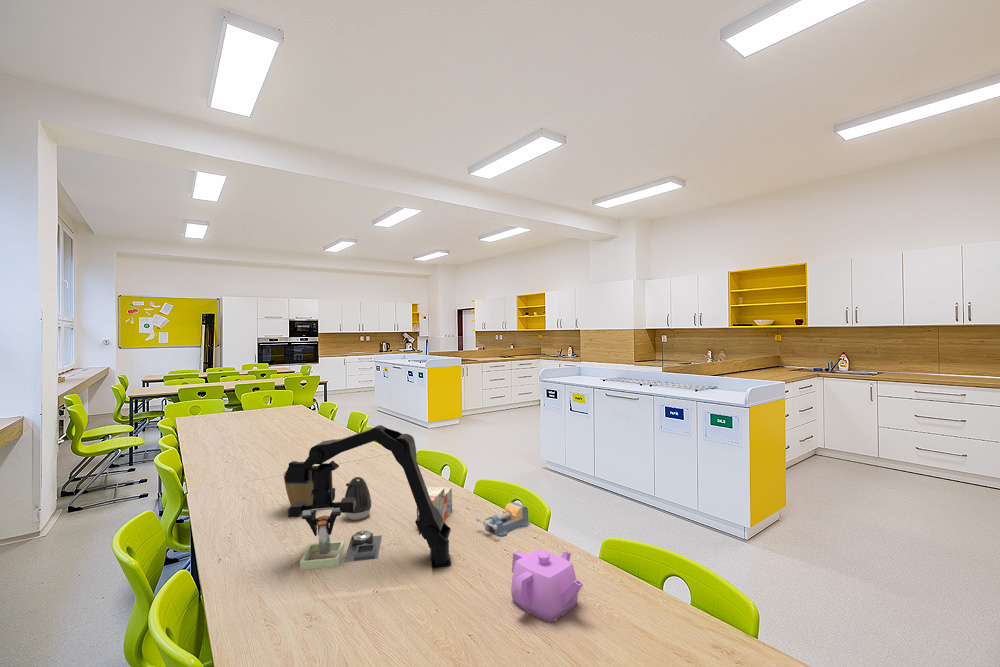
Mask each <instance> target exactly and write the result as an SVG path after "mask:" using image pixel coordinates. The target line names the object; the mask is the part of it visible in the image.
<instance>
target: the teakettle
mask: <svg viewBox="0 0 1000 667" xmlns="http://www.w3.org/2000/svg"><path fill="white" fill-rule="evenodd" d="M571 554H572V552H569V551H563V552H562V553H561V556H559V555H557V554H555V553H552V552H550V551H548V550H545V549H540V548H538V549H535V550H533V551H530V552H529V553H526V552H524V551H521V550H519V549H518V550H515V552H512V567H511V572H512V576H511V577H512V578H511V587H510V590H511V591H510V592H511V597H512V600H513V603H514V604H516V605H517V606H518V605H519V606H520V607H519V606H518V607H519V608H521V609H522V608H523V609H522V610H524V611H525V610H526V611H525V612H527V613H528V612H529V613H528V614H530V613H531V614H530V615H532V616H533V617H536V618H539V619H540V618H541V619H540V620H542V619H543V620H542V621H544V620H546V621H545V622H547V621H550V622H549V623H553V622H555V621H556V620H555V619H557V618H558V619H560V618H561V617H563V616H564V615H566V614H567V613H568V612H569V611H570V609H571V608H572V609H573V608H574V607H576V605H577V602H578V598H579V595H578V594H579V592H580V590H581V588H582V587H583V586H584V583H583V582H581V580H580V579H577V576H576V572H575V569H574V568H575V567H574V565H573V563H572V562H571V560H570V559H571ZM572 609H571V610H572ZM566 612H567V613H566ZM563 614H564V615H563ZM562 615H563V616H562ZM560 616H561V617H560ZM559 617H560V618H559ZM558 619H557V620H558ZM554 620H555V621H554ZM552 621H553V622H552Z"/></svg>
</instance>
